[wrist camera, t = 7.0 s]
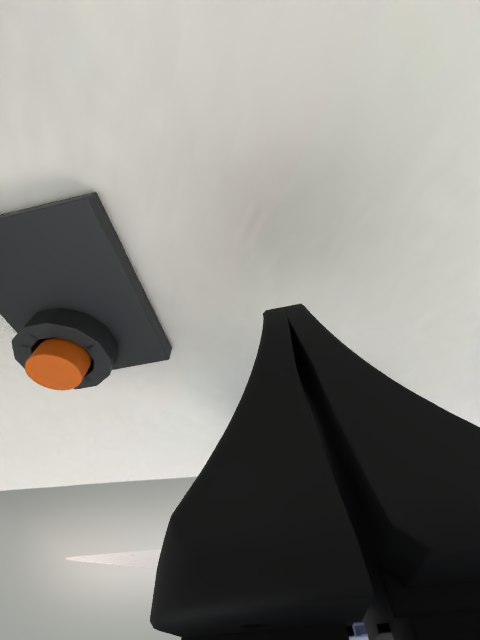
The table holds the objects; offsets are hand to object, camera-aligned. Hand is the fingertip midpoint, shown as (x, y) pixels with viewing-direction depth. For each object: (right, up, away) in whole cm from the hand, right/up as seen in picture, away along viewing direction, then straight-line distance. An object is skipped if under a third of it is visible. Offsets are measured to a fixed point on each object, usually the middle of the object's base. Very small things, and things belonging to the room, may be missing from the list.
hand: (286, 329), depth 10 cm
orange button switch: (-14, +2, +11) cm, 18 cm away
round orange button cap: (-15, -2, +10) cm, 18 cm away
